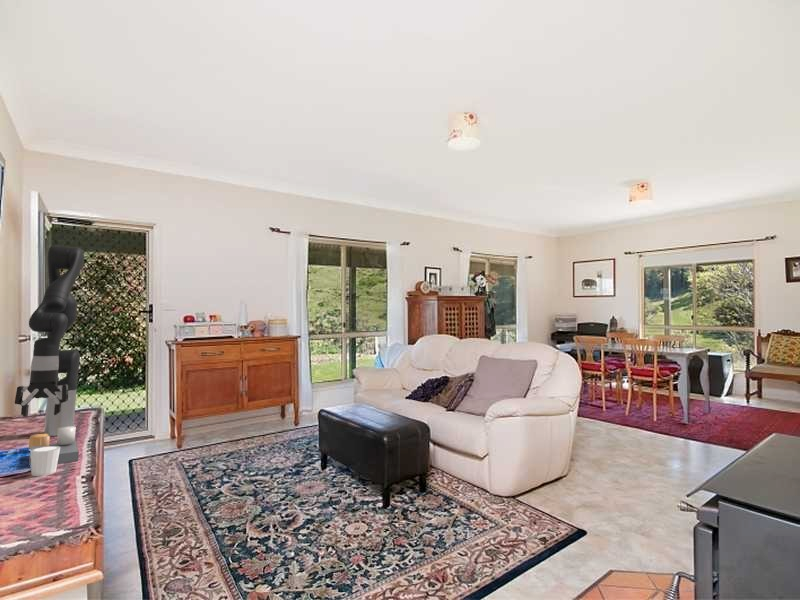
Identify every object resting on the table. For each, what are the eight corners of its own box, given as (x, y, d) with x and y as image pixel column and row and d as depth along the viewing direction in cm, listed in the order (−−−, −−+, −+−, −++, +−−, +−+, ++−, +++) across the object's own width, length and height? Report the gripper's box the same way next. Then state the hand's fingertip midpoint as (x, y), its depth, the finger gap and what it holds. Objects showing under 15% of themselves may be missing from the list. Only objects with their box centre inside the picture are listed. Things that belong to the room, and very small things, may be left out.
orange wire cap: (32, 448, 149) (33, 434, 149) (49, 447, 151) (50, 433, 151) (26, 452, 145) (28, 437, 145) (44, 451, 147) (45, 436, 147)
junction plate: (30, 455, 141) (32, 429, 142) (75, 449, 149) (77, 424, 150) (28, 467, 129) (31, 439, 130) (78, 460, 137) (80, 433, 137)
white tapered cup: (64, 470, 127) (66, 447, 128) (38, 478, 121) (40, 453, 122) (48, 467, 130) (50, 444, 130) (22, 474, 123) (24, 450, 124)
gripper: (72, 367, 156) (68, 412, 155) (23, 368, 150) (18, 415, 149) (66, 369, 149) (62, 416, 148) (14, 369, 143) (10, 418, 142)
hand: (40, 415), depth 148 cm, fingers open, 8 cm apart
